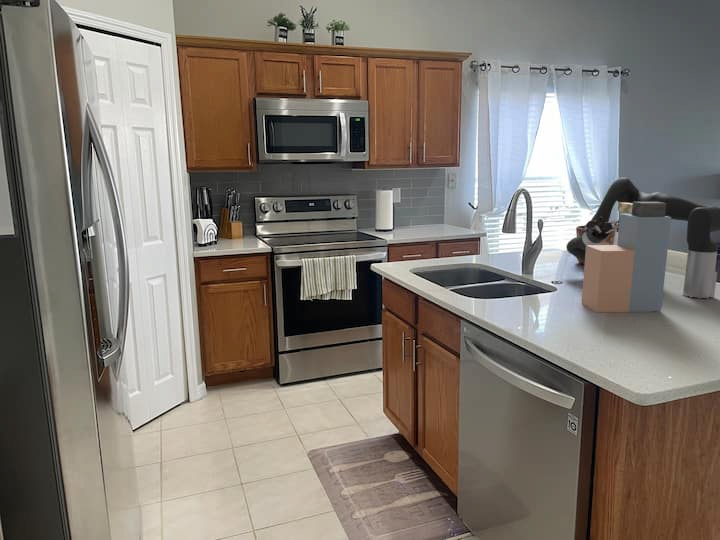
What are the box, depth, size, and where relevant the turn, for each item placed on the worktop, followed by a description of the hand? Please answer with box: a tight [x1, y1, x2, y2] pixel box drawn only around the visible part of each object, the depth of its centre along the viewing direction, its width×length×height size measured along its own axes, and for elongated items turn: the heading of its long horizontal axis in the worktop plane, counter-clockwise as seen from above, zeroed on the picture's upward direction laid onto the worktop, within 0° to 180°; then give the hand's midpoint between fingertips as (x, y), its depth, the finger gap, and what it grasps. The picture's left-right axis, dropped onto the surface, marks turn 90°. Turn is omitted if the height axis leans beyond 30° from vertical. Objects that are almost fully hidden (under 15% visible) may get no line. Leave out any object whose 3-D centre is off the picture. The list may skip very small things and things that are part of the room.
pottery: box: [575, 224, 617, 266], centre depth 264 cm, size 18×18×18 cm
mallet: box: [617, 202, 666, 217], centre depth 190 cm, size 21×8×4 cm, turn 1°
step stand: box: [581, 213, 672, 313], centre depth 188 cm, size 22×12×32 cm, turn 91°
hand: (613, 218), depth 207 cm, fingers open, 8 cm apart
